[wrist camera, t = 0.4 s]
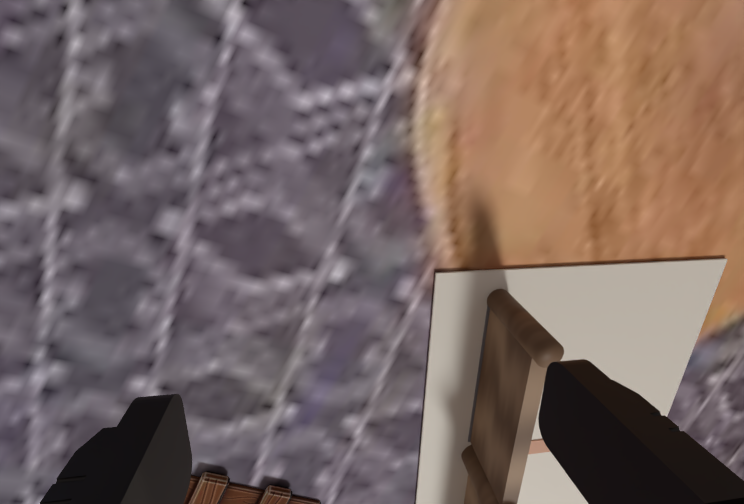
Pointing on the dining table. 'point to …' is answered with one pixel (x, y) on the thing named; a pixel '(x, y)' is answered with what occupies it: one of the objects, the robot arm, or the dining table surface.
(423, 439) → the card
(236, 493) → the decorative fence
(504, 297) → the fence fixed
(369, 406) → the dining table surface
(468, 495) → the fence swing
